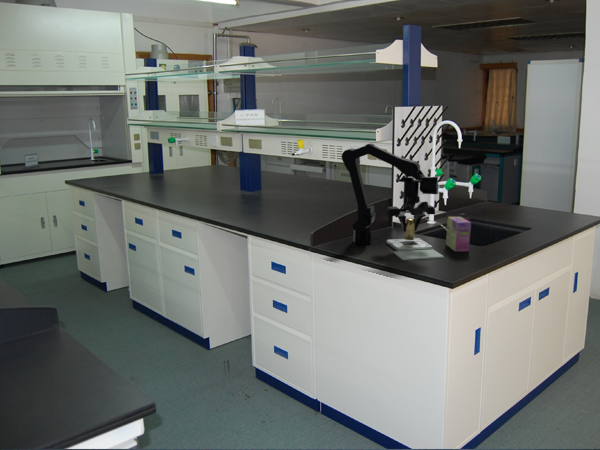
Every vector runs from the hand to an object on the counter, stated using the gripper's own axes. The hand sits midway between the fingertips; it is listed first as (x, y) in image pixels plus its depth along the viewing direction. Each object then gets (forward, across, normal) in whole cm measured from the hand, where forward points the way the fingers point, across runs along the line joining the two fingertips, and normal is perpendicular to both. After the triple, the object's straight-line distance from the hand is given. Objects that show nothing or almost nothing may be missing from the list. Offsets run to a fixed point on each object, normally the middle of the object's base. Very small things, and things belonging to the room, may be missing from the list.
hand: (409, 231), depth 209 cm
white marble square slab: (+6, 0, 0) cm, 6 cm away
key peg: (+3, 0, 0) cm, 3 cm away
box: (+7, +18, -6) cm, 20 cm away
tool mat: (+6, -1, -12) cm, 14 cm away
